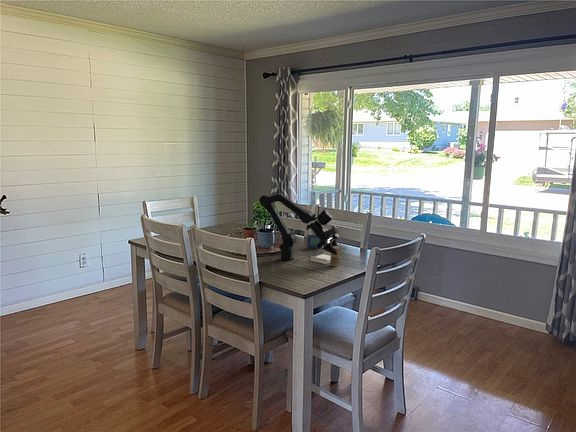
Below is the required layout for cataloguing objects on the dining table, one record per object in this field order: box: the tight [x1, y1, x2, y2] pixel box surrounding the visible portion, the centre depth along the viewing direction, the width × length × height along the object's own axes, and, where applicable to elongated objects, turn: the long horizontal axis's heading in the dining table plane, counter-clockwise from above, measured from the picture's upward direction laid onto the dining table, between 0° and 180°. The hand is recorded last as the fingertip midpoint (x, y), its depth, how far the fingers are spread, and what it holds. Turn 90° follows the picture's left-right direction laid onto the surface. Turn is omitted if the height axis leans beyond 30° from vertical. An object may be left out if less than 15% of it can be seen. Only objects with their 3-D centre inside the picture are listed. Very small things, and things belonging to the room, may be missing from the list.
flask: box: [306, 232, 323, 250], centre depth 264 cm, size 9×3×11 cm, turn 88°
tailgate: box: [309, 251, 331, 265], centre depth 240 cm, size 13×11×2 cm
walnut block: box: [329, 246, 342, 267], centre depth 229 cm, size 4×4×10 cm
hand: (338, 253), depth 228 cm, fingers closed on walnut block, 4 cm apart
